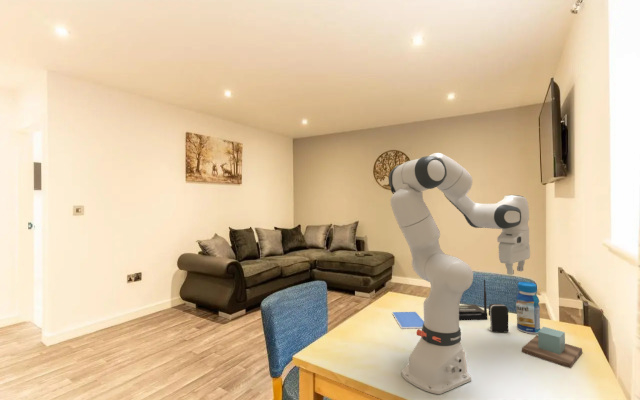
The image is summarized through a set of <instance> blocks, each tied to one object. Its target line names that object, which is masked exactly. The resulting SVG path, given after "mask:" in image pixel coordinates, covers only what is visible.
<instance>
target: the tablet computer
mask: <svg viewBox="0 0 640 400" xmlns="http://www.w3.org/2000/svg"><path fill="white" fill-rule="evenodd" d="M392 313H393V315H394V316H393V315H392V316H393V318H394V317H395V318H394V319H395V321H396V320H397V321H396V322H398V323H397V324H398V326H399V327H400V329H401V328H402V330H416V329H417V330H418V329H419V330H422V327H423V324H424V319H423V318H422V317H421V315H419V314H418V312H416V311H393V312H391V314H392Z"/></svg>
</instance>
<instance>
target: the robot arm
mask: <svg viewBox="0 0 640 400" xmlns="http://www.w3.org/2000/svg"><path fill="white" fill-rule="evenodd" d="M388 184H389V187H390V192H391V194H392V196H391V197H390V200H389V201H390V206H391V210H392V213H393V216H394V218H395V220H396V223H397V224H398V227H399V228H400V230H401V233H402V234H403V236H404V239H405V241H406V243H407V245H408V247H409V250H410V254H411V257H412V258H411V259H412V260H411V266H412V267H411V268H412V270H413V271H414V272H415V273H416V275H417V276H418V277H419V278H421V279H422V280H424V281H426V282H428V283H430V289H429V294H428V297H426V298H425V299H424V301H423V321H424V324H423V327H422V329H417V330H416V336H419V337H420V339H419V341H418V342H417V343H416V345H415V346H414V348H413V349H412V352H411V353H410V355H409V357H408V364H407V365H406V366H405V367H404V368H403V369H402V370H401V376H402V378H403V379H405V381H406V382H408V383H410V384H411V385H413V386H414V387H417V388H419V389H421V390H422V391H426V392H428V393H432V394H436V395H441V394H444V393H447V392H449V391H451V390H453V389H456V388H458V387H460V386H463V385H464V384H467V383H469V382H471V381H472V376H471V375H470V373H469V372H468V368H467V366H468V365H467V359H466V358H467V357H466V351H465V349H464V348H463V346H462V344H461V341H462V332H461V331H462V330H461V327H460V321H459V305H460V304H461V300H462V296H463V294H464V292H465V291H466V292H467V290H468V289H469V288H470V287H471V286H472V284H473V280H474V271H473V269H472V268H471V266H470V264H468V263H467V262H465V261H464V260H462V259H460V258H459V257H456V256H453V255H449V254H446V253H445V252H444V251H443V250H442V249H441V246H440V237H441V232H440V229H439V228H438V225H437V223H436V221H435V219H434V218H433V215H432V213H431V211H430V210H429V208H428V206H427V204H426V202H425V201H424V198H423V195H424V194H423V192H425V191H427V190H433V189H435V188H437V189H438V190H439V191H441V192H442V193H443V195H444V197H445V198H446V199H447V200H448V202H450V203H451V205H453V207H455V208H456V209H457V210H458V211H459V212H460V213H461V214H462V216H463V217H464V219H465V220H466V222H467V223H468V224H469V226H471V227H473V228H475V229H479V228H480V229H481V228H483V229H494V230H495V229H496V230H501V232H500V234H499V235H498V236H497V237H496V238H497V239H496V240H497V243H498V259H499V262H500V263H501V264H505V269H506V274H507V275H510V276H512V275H514V274H515V269H514V267H513V266H514V264H515V263H517V266H516V270H517V271H518V272H523V271H524V269H525V268H524V267H525V264H526V260H529V259H530V257H531V249H530V248H531V247H530V246H531V245H530V226H529V220H530V208H529V202H528V199H527V197H525V196H523V195H517V194H508V195H507V194H506V195H504V196H503V199H501V200H499V201H498V202H496V203H480V202H479V203H478V202H475V201H474V200H472V199H471V198H470V197H469V196H468V193H469V192H470V190H471V189H472V186H473V177H472V175H471V174H470V172H469V171H468V170H467V169H466V168H465V167H464V166H462V165H461V164H460V163H459V162H457V161H456V160H455V159H452V158H451V157H449V156H447V154H446V155H445V154H444V153H441V152H434V153H431V154H430V155H428V156H422V157H419V158H416V159H411V160H407V161H405V162H403V163H402V164H399V165H397V166H395V167H394V168H392V169H391V171H390V172H389V174H388Z"/></svg>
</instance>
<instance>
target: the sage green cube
mask: <svg viewBox="0 0 640 400" xmlns="http://www.w3.org/2000/svg"><path fill="white" fill-rule="evenodd" d="M537 336H538V348H541V349H544V350H547V351H550V352H553V353H557V354H561V353H562V352H563V351H564V350H565V344H566V333H565V331H560V330H558V329H553V328H551V327H546V326H543V327H541V328H540V330H539V331H538V333H537Z"/></svg>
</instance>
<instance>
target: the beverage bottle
mask: <svg viewBox="0 0 640 400" xmlns="http://www.w3.org/2000/svg"><path fill="white" fill-rule="evenodd" d="M537 288H538V286H537V284H536V283H533V282H531V281H530V282H528V281H519V282H517V291H519V292H518V293H517V295H516V296H515V297H516V299H515V300H516V302H515V307H516V328H517V330H519V331H520V332H523V333H526V334H530V335H533V334H534V335H536V334H537V335H538V331H539V330H540V329H541V316H540V315H541V313H540V312H541V311H540V310H541V307H540V304H539V303H540V299H539V296H538V295H537V294H536V293H537V292H538V289H537Z"/></svg>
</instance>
